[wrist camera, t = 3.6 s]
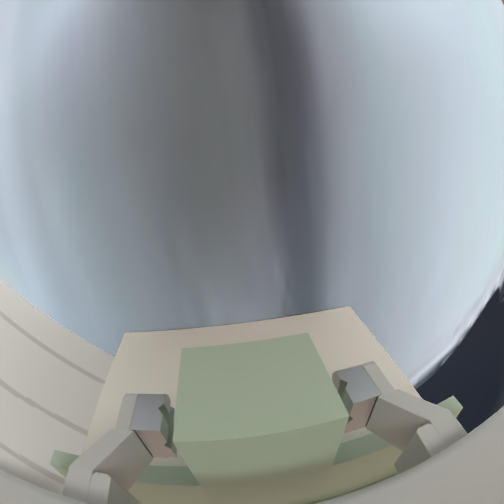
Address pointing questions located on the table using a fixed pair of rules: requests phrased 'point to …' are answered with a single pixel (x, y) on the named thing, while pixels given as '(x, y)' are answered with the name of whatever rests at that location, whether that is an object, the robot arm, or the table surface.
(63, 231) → the table surface
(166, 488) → the lid
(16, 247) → the table surface
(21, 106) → the table surface
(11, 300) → the pizza boxes
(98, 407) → the tub
